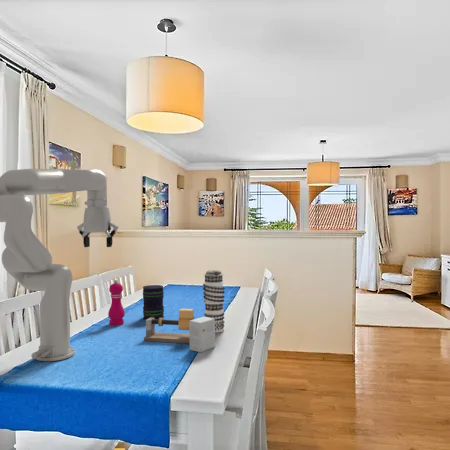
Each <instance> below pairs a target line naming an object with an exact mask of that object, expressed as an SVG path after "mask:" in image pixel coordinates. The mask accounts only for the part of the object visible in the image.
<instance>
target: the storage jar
mask: <svg viewBox="0 0 450 450" xmlns="http://www.w3.org/2000/svg"><path fill="white" fill-rule="evenodd" d="M164 294H165V293H164V286H163V285H160V284H151V285H150V284H148V285H144V286H142V299H143V307H142V315H143V320H145V321H146V320H147V319H148V318H155V319H159V318H163V319H164V314H165V313H164V312H165V310H164V308H165V307H164Z"/></svg>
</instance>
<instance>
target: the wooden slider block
mask: <svg viewBox="0 0 450 450" xmlns="http://www.w3.org/2000/svg"><path fill="white" fill-rule="evenodd" d="M194 319H195V311H194V308H180V309H179V310H178V319H177V320H178V321H179V325H178V331H189V321H190V320H194Z"/></svg>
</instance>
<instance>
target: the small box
mask: <svg viewBox="0 0 450 450" xmlns="http://www.w3.org/2000/svg"><path fill="white" fill-rule="evenodd" d="M188 331H189V333H188V334H190V343H189V350H191V351H195V352H198V353H203V352H205V351H209V350H211V349H212V348H215V347H216V332H215V319H214V318H209V317H205V316H201V317H198V318H194V320H190V321H189V330H188Z"/></svg>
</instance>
